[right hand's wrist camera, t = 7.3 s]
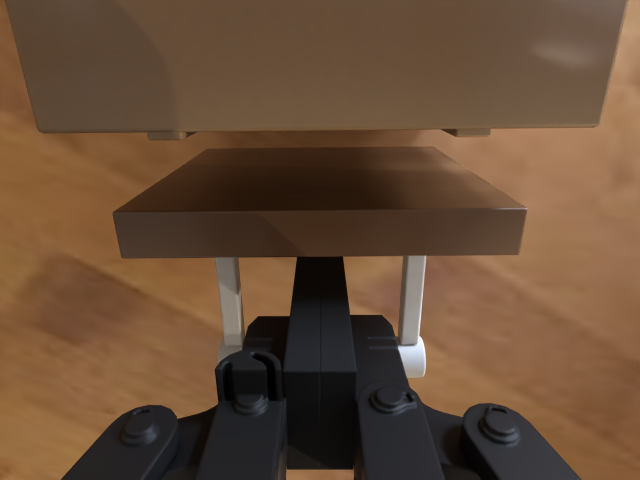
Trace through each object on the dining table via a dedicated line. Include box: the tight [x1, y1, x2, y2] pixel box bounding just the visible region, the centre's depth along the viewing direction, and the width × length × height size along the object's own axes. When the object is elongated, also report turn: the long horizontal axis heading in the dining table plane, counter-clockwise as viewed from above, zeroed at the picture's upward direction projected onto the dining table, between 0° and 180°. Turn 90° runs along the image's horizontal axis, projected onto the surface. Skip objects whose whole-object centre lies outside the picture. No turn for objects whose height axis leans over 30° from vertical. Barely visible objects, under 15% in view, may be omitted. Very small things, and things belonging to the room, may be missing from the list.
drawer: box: [113, 129, 527, 378], centre depth 12 cm, size 23×10×9 cm, turn 1°
